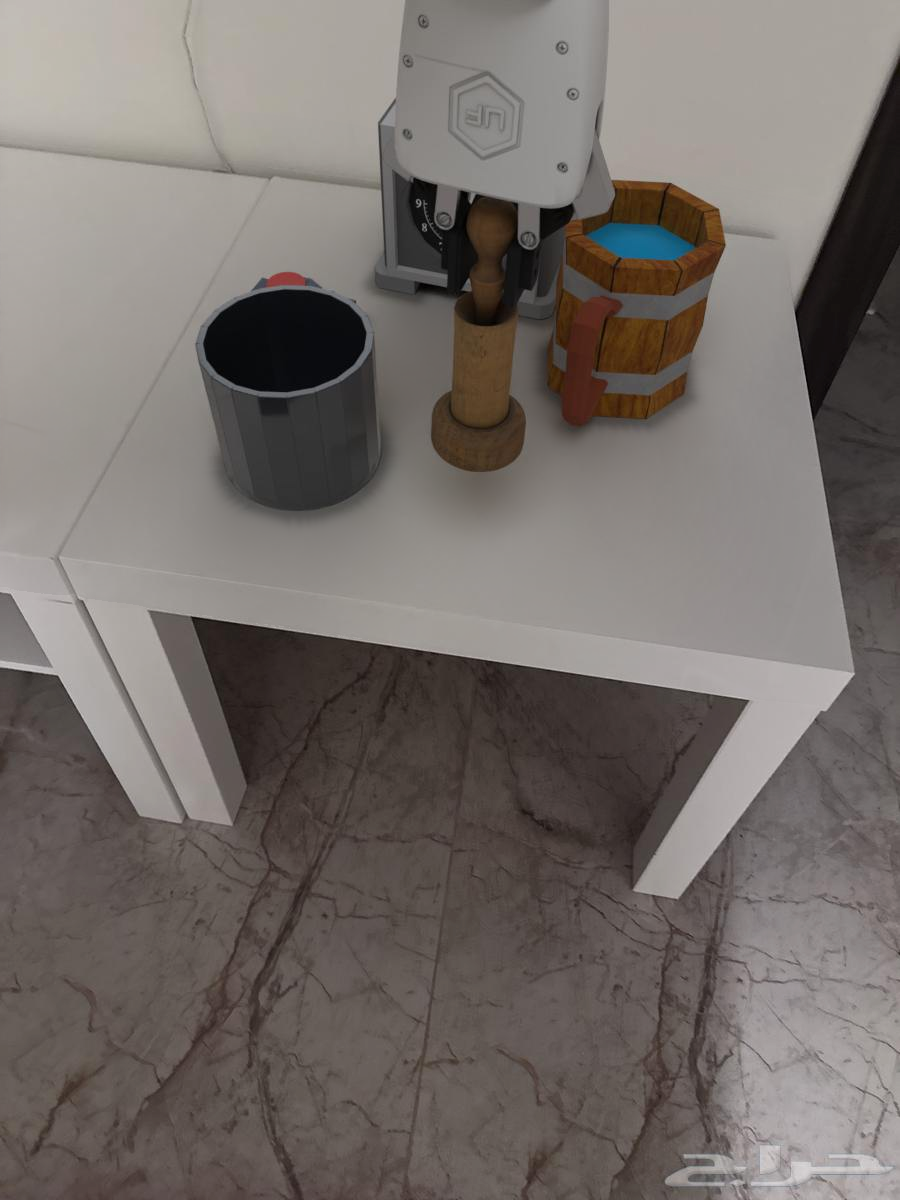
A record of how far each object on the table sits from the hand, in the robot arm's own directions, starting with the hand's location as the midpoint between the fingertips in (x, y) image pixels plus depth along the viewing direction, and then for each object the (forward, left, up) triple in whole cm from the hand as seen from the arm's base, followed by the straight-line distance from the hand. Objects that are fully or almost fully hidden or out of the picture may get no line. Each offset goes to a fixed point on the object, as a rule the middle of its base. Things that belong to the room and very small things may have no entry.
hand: (488, 285), depth 56 cm
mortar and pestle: (0, 0, -13) cm, 13 cm away
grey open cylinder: (-17, +3, -23) cm, 29 cm away
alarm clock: (-12, +34, -23) cm, 43 cm away
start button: (-25, +18, -19) cm, 36 cm away
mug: (+5, +20, -23) cm, 31 cm away
